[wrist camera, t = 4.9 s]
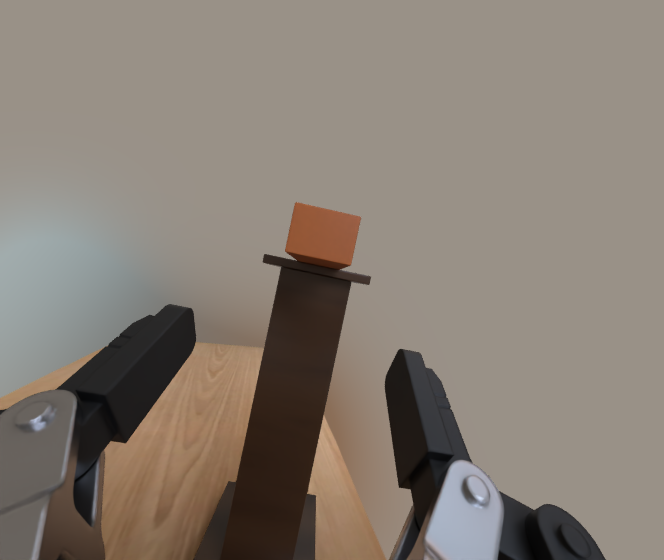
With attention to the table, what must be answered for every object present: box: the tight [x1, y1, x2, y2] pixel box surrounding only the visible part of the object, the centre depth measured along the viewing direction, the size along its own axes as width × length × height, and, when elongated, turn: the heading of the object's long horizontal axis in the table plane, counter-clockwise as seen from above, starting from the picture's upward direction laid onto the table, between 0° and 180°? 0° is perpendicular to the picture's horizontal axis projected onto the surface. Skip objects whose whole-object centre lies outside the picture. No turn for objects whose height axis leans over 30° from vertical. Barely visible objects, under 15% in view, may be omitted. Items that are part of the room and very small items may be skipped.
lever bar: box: [285, 202, 361, 270], centre depth 25 cm, size 20×4×3 cm, turn 3°
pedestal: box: [194, 254, 371, 560], centre depth 28 cm, size 12×12×32 cm
